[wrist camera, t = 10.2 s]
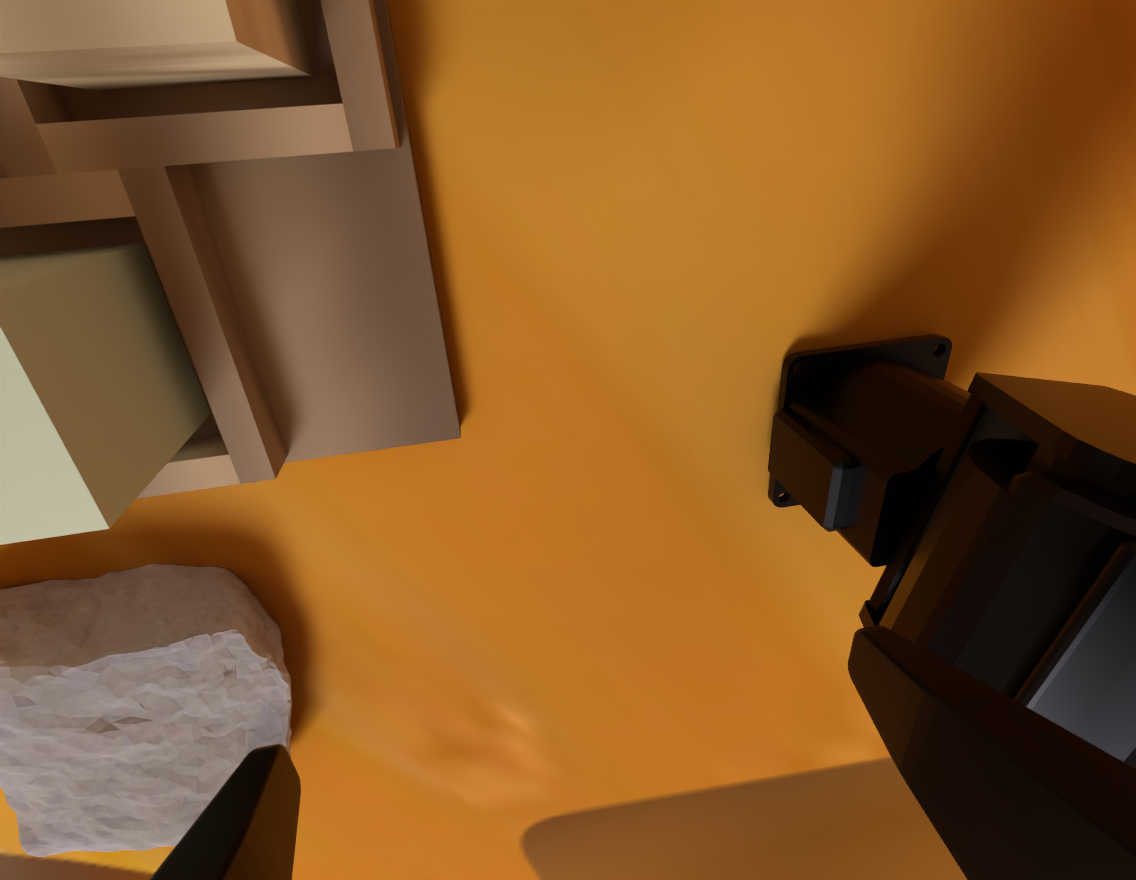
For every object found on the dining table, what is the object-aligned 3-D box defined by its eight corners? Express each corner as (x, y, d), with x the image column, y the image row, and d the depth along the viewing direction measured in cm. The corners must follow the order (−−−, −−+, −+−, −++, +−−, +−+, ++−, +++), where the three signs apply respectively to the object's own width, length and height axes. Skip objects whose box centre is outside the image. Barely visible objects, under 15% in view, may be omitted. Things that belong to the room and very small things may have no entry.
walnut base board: (323, -365, 12) (297, -467, 10) (460, 427, 20) (461, 459, 18) (-513, -387, 10) (-755, -520, 8) (18, 488, 18) (-35, 531, 16)
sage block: (143, 242, 15) (-17, 295, 10) (210, 413, 18) (109, 528, 12) (-68, 262, 15) (-356, 329, 9) (31, 436, 17) (-157, 567, 12)
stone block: (265, 521, 23) (-64, 583, 19) (257, 606, 19) (-155, 702, 16) (322, 715, 29) (76, 789, 25) (325, 811, 25) (35, 912, 21)
